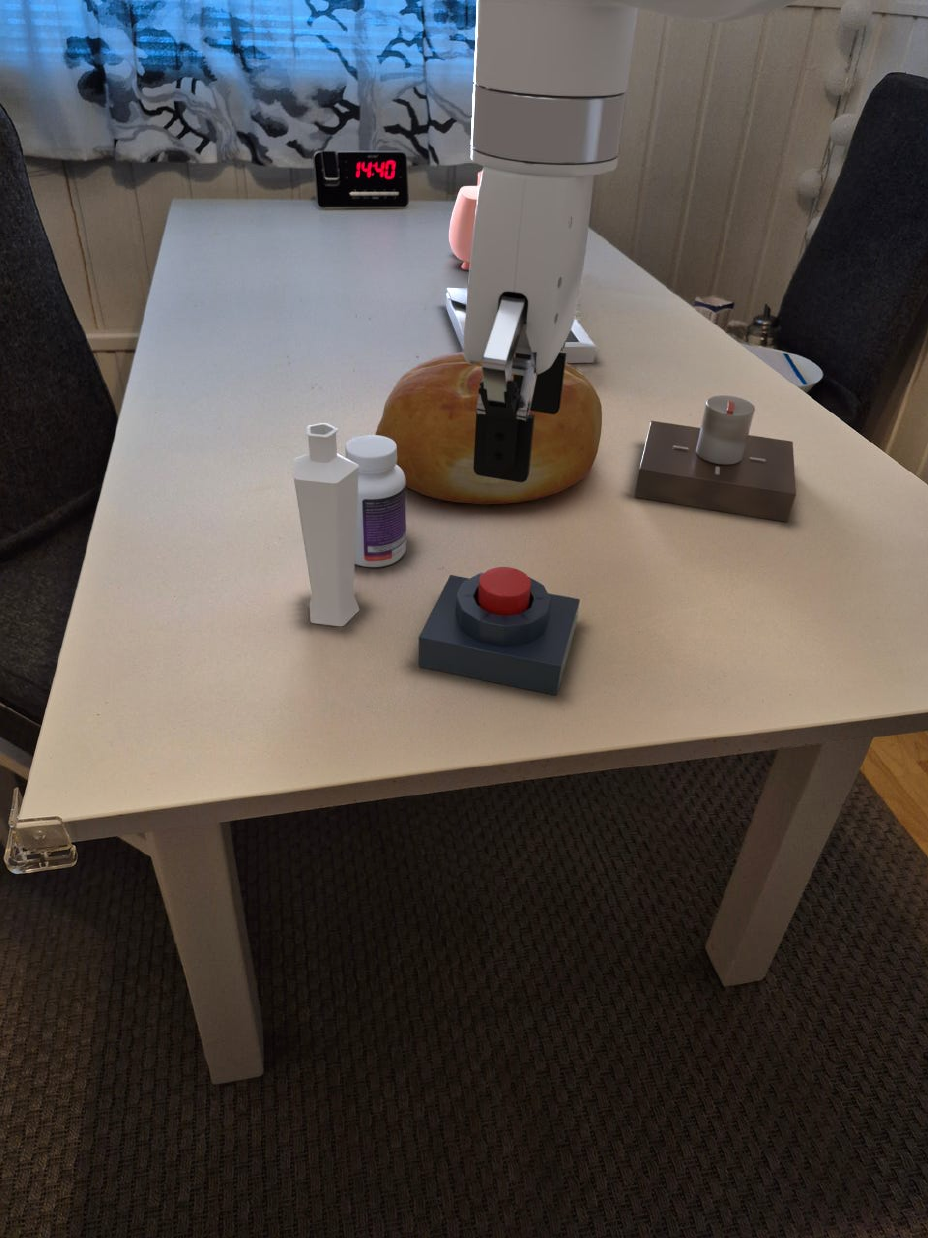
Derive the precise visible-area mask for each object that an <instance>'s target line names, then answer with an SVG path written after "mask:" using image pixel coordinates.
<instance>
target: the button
mask: <svg viewBox="0 0 928 1238" xmlns="http://www.w3.org/2000/svg"><path fill="white" fill-rule="evenodd" d="M482 573H483V574H482V575H481V576H480V579H479V592H478V602H479V604H480V606H481V607H482V608H483V609H484V610H486V611H487V612H489V613H492V614H497V615H503V616H506V615H514V614H520V613H522V612H523V611H525V610H526V609H527V607H528V605H529V599H530V589H531V581H530V579H529V577H530V576H528V574H527V573H525V572H523V571H522V570H520V569H518V568H514V567H509V566H497V567H496V566H495V567H491V568H489V569H486V570H485V571H484V572H482Z"/></svg>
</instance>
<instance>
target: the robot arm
mask: <svg viewBox="0 0 928 1238" xmlns="http://www.w3.org/2000/svg"><path fill="white" fill-rule="evenodd" d="M795 2H798V0H476V16H475V17H476V19H475V21H476V22H475V45H474V69H473V70H474V71H473V82H474V84H473V90H472V91H473V92H472V114H471V115H472V117H471V136H470V137H471V139H470V145H471V146H470V159H471V161H472V162H473V163H475V164H477V165H479V166H482V170H481V171H482V176H481V181H480V187H479V193H478V199H477V206H476V213H475V220H474V228H473V237H472V247H471V257H470V268H469V270H468V278H467V279H468V281H467V288H468V291H467V303H466V315H465V327H464V340H463V349H462V352H463V356H464V358H465V360H466V361H467V363H468V364H471V365H475V364H476V363H477V362H481V361H482V360H483V361H482V373H483V377H482V382H481V383H480V388H479V396H478V401H477V410H476V428H475V446H474V465H473V469H474V472H475V473H476V474H477V475H480V476H486V477H492V478H498V479H504V480H510V481H516V482H524V481H526V480H527V478H528V476H529V470H530V460H531V450H532V439H533V429H534V419H535V415H532V414H529V412H530V411H535V412H541V413H548V414H556V413H557V412H558V411H559V409H560V405H561V396H562V387H563V379H564V370H565V361H566V353H560V351H564V348H565V344H566V338H567V336H568V334H569V332H570V330H571V328H572V325H573V322H574V319H575V318H576V314H577V309H578V304H579V298H580V293H581V286H582V279H583V274H584V273H583V272H584V265H585V257H586V252H587V251H586V250H587V243H588V234H589V225H590V215H591V207H592V197H593V189H594V179H595V176H598V175H599V176H600V175H604V174H606V173H611V172H613V171H615V170H616V168H618V161H619V154H620V148H621V147H620V146H621V139H622V132H623V125H624V116H625V109H626V100H627V91H628V87H629V80H630V73H631V65H632V58H633V50H634V49H633V48H634V42H635V35H636V27H637V21H638V20H637V19H638V13H639V9H641V10H644V11H647V12H651V13H655V14H659V15H663V16H666V17H670V18H673V19H678V20H683V21H687V22H695V23H702V24H703V23H704V24H706V23H707V24H715V23H724V22H730V21H735V20H740V19H741V20H742V19H746V18H748V17H750V16H757V15H764V14H769V13H773V12H775V11H778V10H782V9H784V8H786V7H788V6H790V5H792V4H794V3H795ZM514 354H515V357H514ZM512 374H514V377H513V381H510V379H511V376H512Z"/></svg>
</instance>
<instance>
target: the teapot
mask: <svg viewBox="0 0 928 1238" xmlns="http://www.w3.org/2000/svg"><path fill="white" fill-rule="evenodd" d="M482 171H483V170H481V171H479V172H478V173H477V185H464V186H462V187H461V188H460V189H459V192H458V194H457V196H456V200H455V204H454V207H453V210H452V213H451V218H450V222H449V231H448V241H449V244H450V245H449V246H450V247H451V251H452V252H453V255H455V257H456V258H457V259H458V260H460V261H462V262H463V263H462V265H461V269H463V270H467V271H469V268H470V257H471V247H472V237H473V228H474V220H475V213H476V206H477V199H478V193H479V187H480V181H481V176H482Z"/></svg>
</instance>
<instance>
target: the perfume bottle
mask: <svg viewBox="0 0 928 1238" xmlns="http://www.w3.org/2000/svg"><path fill="white" fill-rule="evenodd" d="M338 431H339V429H338V428H337V427H336V426H334V425H332V424H331V423H328V422H320V423H314V424H309V425H306V426H305V434H306V436H307V437H308V450H309V451H308V452H309V453H306V454H303V455H301V456H298V457H295V458H293V460H292V467H293V469H292V470H293V472H292V473H293V483H294V488H295V489H294V490H295V495H296V500H297V502H296V503H297V508H298V515H299V521H300V528H301V533H302V539H303V546H304V553H305V558H306V564H307V571H308V578H309V584H310V591H311V595H310V602H309V620H310V621H309V622H310V623H312V624H318V625H325V626H334V627H344V626H345V625H347V623H348V622H349V621H350V620H351V619H353V617H355V616H356V615H357V613H359V611H360V608H359V605H358V602H357V600H356V597H355V594H354V589H355V588H354V587H355V567H356V564H355V544H356V521H357V498H358V475H359V465H358V464H356V463H354V462H352V461H350V460H349V459H347V458H346V456H343V455H342V454H339V453H338V447H337V446H338V445H337V444H338V443H337V433H338Z"/></svg>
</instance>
